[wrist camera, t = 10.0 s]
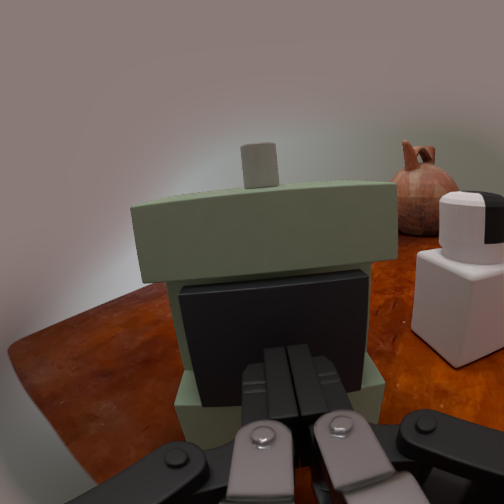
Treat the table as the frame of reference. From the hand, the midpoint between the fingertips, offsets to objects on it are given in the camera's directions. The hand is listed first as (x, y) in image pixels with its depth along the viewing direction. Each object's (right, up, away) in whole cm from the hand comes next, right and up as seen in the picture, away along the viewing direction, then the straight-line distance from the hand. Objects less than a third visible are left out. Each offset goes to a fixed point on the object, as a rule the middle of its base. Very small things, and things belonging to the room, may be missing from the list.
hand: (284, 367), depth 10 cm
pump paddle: (0, -2, +2) cm, 3 cm away
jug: (+38, +9, +52) cm, 65 cm away
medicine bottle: (+16, -3, +11) cm, 20 cm away
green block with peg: (+1, -6, +6) cm, 8 cm away
